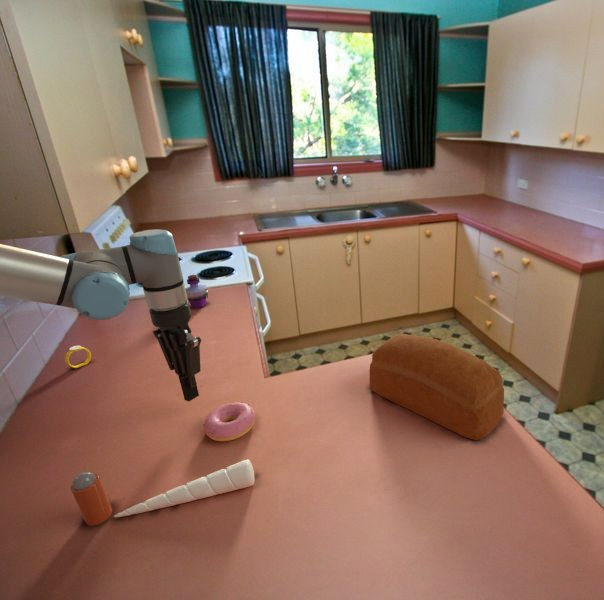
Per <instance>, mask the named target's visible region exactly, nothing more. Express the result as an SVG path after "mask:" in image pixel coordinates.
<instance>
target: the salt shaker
mask: <svg viewBox="0 0 604 600" xmlns="http://www.w3.org/2000/svg"><path fill="white" fill-rule="evenodd" d="M70 491H71V494H72V496H73V498H74V501H75V502H76V504H77V507H78V509H79V511H80V513H81V516H82V519H83V520H84V522H85V524H86V525H87V526H91V527H92V526H96V525H97V526H98V525H99V524H102V523H104V522H105V521H107V520H108V519H109V518H110V517H111V515H112V514H113V508H112V505H111V503H110V500H109V498H108V495H107V493H106V490H105V488H104V485H103V483H102V481H101V479H100V476H99V475H98V474H97V473H93V471H92V472H91V471H82V472H80V473H78V474H77V475H76V476H75V477H74V478H73V480H72V484H71V486H70Z"/></svg>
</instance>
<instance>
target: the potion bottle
mask: <svg viewBox="0 0 604 600" xmlns="http://www.w3.org/2000/svg"><path fill="white" fill-rule="evenodd" d="M186 283H187V285H189V286H187V287H185V290H186V294H187V302H188V303H189V306H190V308H194V309H198V308H199V309H200V308H203V307H205V306H207V299H208V298H209V291H208V286H207V285H206V284H199V283H201V281H200V277H198V276H197V274H190V275H187V279H186Z"/></svg>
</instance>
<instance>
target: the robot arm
mask: <svg viewBox="0 0 604 600" xmlns="http://www.w3.org/2000/svg"><path fill="white" fill-rule="evenodd" d="M184 282H185V281H184V277H183V271H182V267H181V263H180V257H179V252H178V250H177V247H176V243H175V240H174V236H173V233H171V232H170V231H168V230H166V229H146V230H142V231H137V232H134V233H132V234H131V235H130V236H129V244H126V245H122V246H116V247H107V248H101V249H100V248H99V249H92V250H87V251H82V250H81V251H76V252H74V253H68V254H64V255H61V256H57V255H53V254H47V253H43V252H38V251H34V250H30V249H26V248H22V247H16V246H12V245H8V244H4V243H0V297H3V298H10V299H16V300H22V301H28V302H35V303H39V304H40V303H41V304H47V305H53V306H58V307H63V308H70V309H76V311H77V312H79V314H80V315H82V316H84V317H85V318H88V319H91V320H94V321H106V320H111V319H114V318H116V317H118V316H119V315H121V314H123V312H124V311H125V310H126V309H127V307H128V305H129V303H130V295H131V293H130V290H131V289H130V285H135V284H139V283H141V285H142V289H143V290H142V291H143V294H144V297H145V301H146V304H147V307H148V308H149V310H148V312H149V315H150V319H151V323H152V325H153V326H154V327H156V329H154V330H153V331H152V333H153V335H154V337H155V338H156V340H157V342H158V344H159V346H160V349H161V351H162V354H163V356H164V359H165V361H166V363H167V366H168V368H169V370H170V371H174V373H175V374H176V375H177V376H178V381H179V384H180V387H181V391H182V395H183V399H184V401H186V402H189V403H190V402H191V401H192V400H195V399H196V398H197V397H199V396H200V394H199V389H198V385H197V380H196V375H197V374H199V373H200V372H201V370H202V369H201V350H200V346H201V343H202V338H201V337H200V336H197V337H195V336H194V335H193V334H192V329H191V328H190V326H189V322H190V320H191V319H192V316H193V315H192V311H191V305H190V303H189V301H188V300H187V294H186V290H185V288H186V285H185V283H184Z"/></svg>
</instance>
